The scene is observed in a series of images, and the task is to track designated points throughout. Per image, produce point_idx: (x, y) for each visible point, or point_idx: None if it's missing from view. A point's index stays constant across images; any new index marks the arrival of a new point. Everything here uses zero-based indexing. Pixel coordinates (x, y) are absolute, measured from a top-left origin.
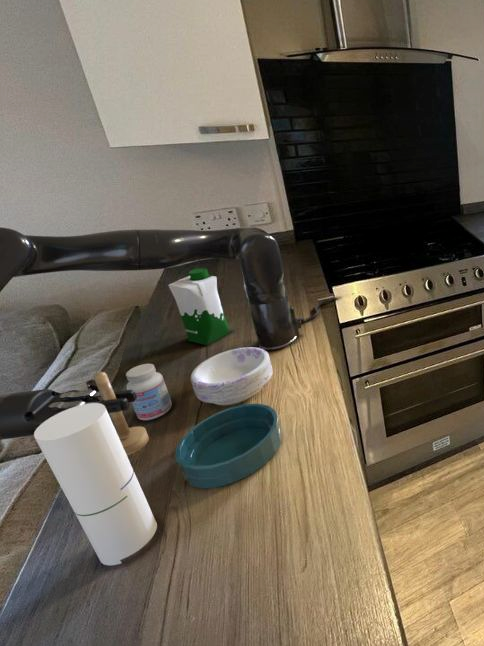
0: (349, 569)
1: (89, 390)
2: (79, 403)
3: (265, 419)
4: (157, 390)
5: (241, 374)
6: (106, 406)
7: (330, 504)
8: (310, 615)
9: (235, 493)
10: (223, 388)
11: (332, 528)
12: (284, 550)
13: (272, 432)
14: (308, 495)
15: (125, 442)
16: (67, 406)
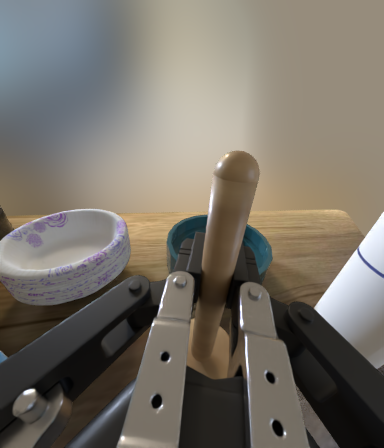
0: (318, 216)
1: (62, 404)
2: (263, 339)
3: (189, 232)
4: (1, 352)
5: (75, 247)
6: (255, 269)
7: (277, 219)
8: (346, 227)
9: None
10: (125, 242)
11: (294, 219)
12: (313, 235)
13: None
14: (270, 226)
15: (218, 348)
16: (297, 404)
